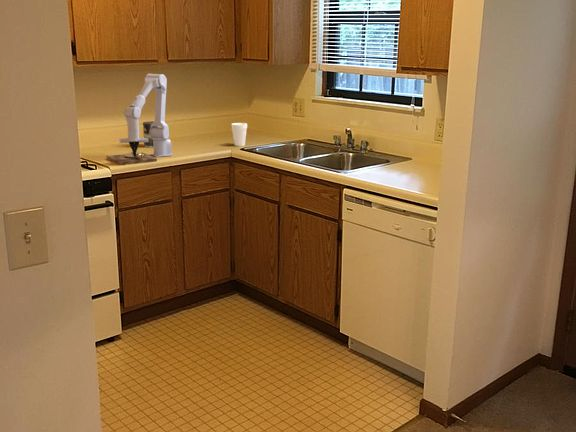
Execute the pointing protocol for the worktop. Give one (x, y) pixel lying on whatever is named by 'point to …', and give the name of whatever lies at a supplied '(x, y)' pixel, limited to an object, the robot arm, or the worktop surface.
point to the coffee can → (147, 134)
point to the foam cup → (239, 133)
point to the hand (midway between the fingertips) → (134, 156)
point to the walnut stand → (131, 159)
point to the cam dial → (131, 155)
